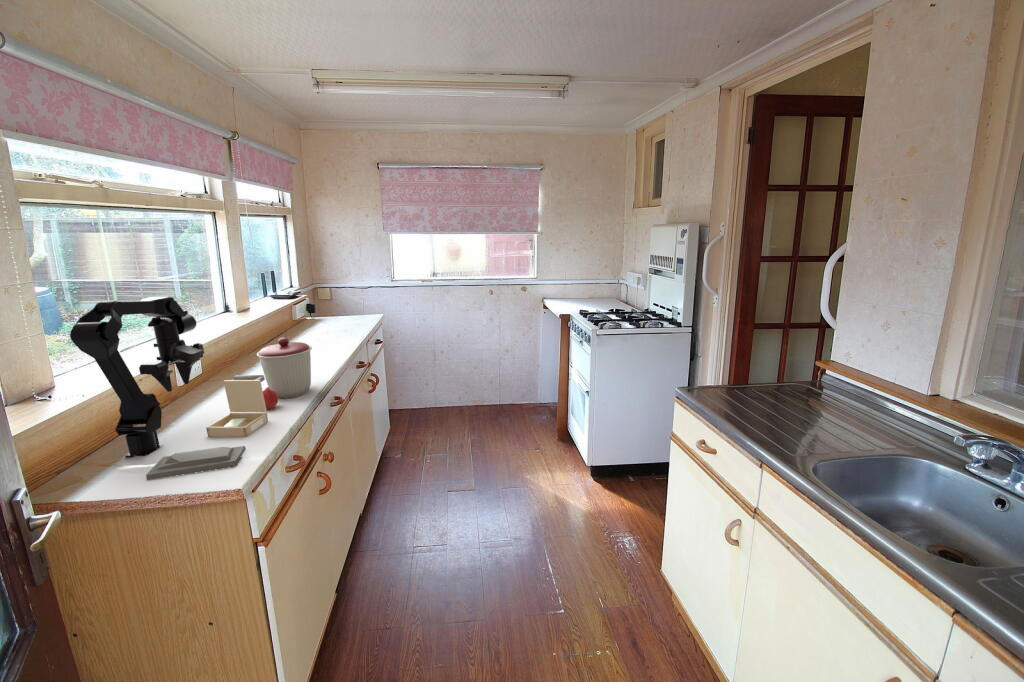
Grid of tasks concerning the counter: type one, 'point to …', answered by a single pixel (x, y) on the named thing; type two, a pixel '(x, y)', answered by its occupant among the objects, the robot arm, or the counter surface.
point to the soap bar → (237, 423)
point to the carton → (252, 424)
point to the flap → (245, 393)
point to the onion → (270, 398)
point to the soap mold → (196, 462)
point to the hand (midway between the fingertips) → (178, 387)
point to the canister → (287, 367)
